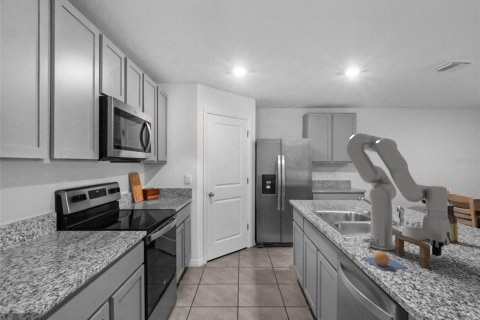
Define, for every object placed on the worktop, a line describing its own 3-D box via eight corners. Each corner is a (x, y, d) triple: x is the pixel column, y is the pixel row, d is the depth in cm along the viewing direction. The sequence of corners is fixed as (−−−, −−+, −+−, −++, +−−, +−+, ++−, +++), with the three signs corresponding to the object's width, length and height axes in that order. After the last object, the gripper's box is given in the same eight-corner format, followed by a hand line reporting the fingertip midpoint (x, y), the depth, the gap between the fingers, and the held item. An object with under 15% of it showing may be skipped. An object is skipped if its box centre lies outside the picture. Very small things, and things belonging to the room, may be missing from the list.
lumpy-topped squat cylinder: (425, 236, 140) (425, 221, 140) (426, 242, 130) (426, 226, 130) (404, 233, 146) (404, 218, 146) (402, 238, 136) (402, 223, 136)
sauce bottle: (452, 239, 133) (451, 203, 133) (461, 243, 127) (461, 206, 127) (439, 239, 134) (439, 203, 134) (447, 243, 127) (447, 205, 128)
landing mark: (381, 270, 96) (381, 269, 96) (361, 258, 107) (361, 257, 107) (407, 268, 98) (407, 267, 98) (384, 256, 110) (384, 256, 110)
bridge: (424, 268, 98) (424, 245, 98) (395, 254, 112) (395, 234, 112) (430, 267, 98) (430, 244, 98) (400, 254, 112) (400, 234, 113)
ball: (378, 260, 97) (387, 251, 98) (368, 255, 102) (377, 247, 103) (385, 270, 97) (394, 261, 98) (375, 265, 103) (384, 257, 104)
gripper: (414, 210, 114) (414, 249, 114) (446, 218, 99) (446, 262, 99) (427, 210, 115) (427, 248, 115) (461, 217, 101) (461, 261, 101)
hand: (436, 255), depth 107 cm, fingers closed
